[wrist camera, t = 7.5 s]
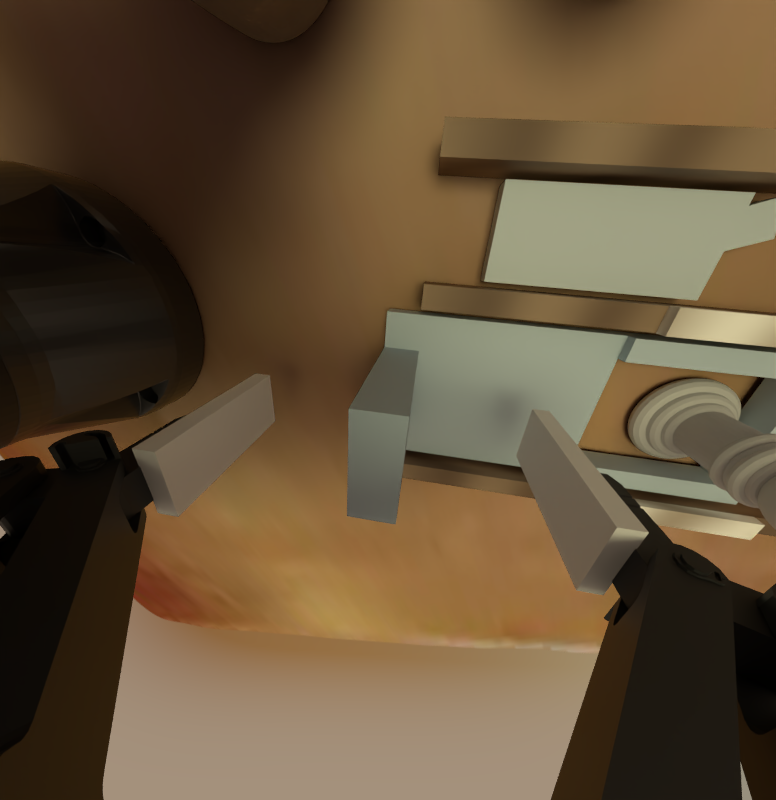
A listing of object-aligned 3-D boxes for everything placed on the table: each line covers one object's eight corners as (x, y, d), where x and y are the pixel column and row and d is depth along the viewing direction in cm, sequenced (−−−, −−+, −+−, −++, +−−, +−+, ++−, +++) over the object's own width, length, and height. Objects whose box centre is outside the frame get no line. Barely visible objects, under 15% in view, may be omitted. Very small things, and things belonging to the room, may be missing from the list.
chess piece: (753, 397, 16) (1085, 532, 8) (675, 463, 18) (867, 618, 10) (672, 360, 16) (929, 460, 8) (604, 432, 18) (744, 565, 10)
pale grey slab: (380, 436, 20) (346, 548, 12) (390, 308, 16) (349, 349, 8) (709, 483, 18) (929, 655, 10) (813, 350, 14) (1314, 460, 6)
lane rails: (403, 455, 21) (399, 483, 18) (442, 142, 13) (445, 108, 10) (853, 522, 18) (928, 568, 15) (1261, 178, 10) (1573, 144, 7)
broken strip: (479, 283, 15) (483, 284, 14) (501, 177, 13) (507, 169, 12) (1025, 331, 13) (1079, 337, 12) (1155, 212, 11) (1235, 206, 10)
